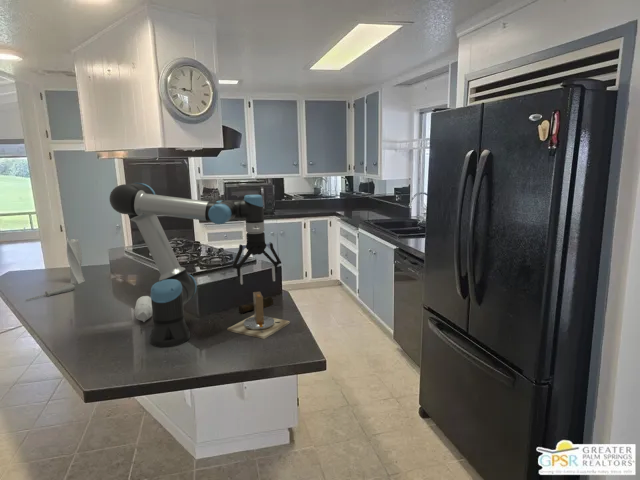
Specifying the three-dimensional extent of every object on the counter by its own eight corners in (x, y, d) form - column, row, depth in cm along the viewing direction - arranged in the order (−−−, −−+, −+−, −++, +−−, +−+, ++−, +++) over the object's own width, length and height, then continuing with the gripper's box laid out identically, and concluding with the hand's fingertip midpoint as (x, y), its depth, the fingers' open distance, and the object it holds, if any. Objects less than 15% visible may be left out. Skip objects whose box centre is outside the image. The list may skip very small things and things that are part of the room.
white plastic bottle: (133, 326, 187) (131, 309, 185) (136, 312, 204) (135, 296, 203) (152, 324, 189) (151, 307, 188) (154, 310, 207) (153, 294, 205)
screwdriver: (24, 304, 225) (22, 296, 225) (73, 290, 245) (71, 283, 244) (28, 303, 222) (25, 296, 222) (77, 289, 242) (75, 282, 242)
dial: (242, 320, 188) (240, 291, 186) (271, 317, 192) (270, 288, 189) (245, 331, 176) (244, 300, 173) (276, 327, 179) (275, 296, 177)
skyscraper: (67, 284, 256) (61, 237, 251) (76, 280, 263) (70, 235, 258) (78, 284, 254) (73, 238, 249) (87, 281, 262) (82, 235, 257)
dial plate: (227, 330, 180) (227, 328, 180) (255, 316, 197) (254, 313, 196) (264, 338, 171) (263, 336, 171) (289, 323, 188) (289, 320, 187)
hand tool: (242, 314, 200) (242, 305, 199) (238, 312, 203) (237, 303, 202) (276, 305, 212) (275, 296, 211) (271, 304, 215) (271, 295, 214)
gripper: (225, 235, 170) (228, 287, 173) (286, 231, 176) (288, 281, 180) (223, 233, 177) (227, 282, 181) (283, 229, 184) (285, 277, 187)
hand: (257, 282), depth 180 cm, fingers open, 13 cm apart
